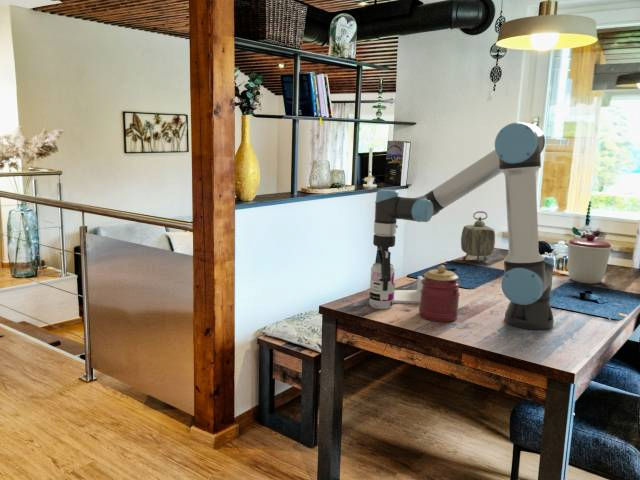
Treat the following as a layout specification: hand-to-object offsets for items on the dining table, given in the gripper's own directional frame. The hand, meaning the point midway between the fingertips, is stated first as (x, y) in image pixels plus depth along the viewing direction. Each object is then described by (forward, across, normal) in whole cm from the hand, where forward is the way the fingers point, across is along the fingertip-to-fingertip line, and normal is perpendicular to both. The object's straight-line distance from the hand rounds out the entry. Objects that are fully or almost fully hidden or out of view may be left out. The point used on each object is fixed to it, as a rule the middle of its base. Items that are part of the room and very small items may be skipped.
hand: (380, 293), depth 196 cm
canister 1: (+5, -10, -18) cm, 21 cm away
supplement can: (+5, 0, 0) cm, 5 cm away
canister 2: (+4, +42, -96) cm, 105 cm away
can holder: (+4, +11, -11) cm, 16 cm away
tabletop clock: (+5, +76, -59) cm, 96 cm away
